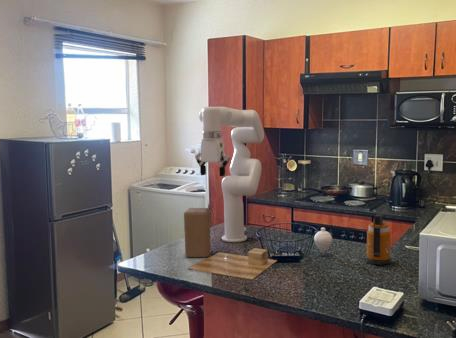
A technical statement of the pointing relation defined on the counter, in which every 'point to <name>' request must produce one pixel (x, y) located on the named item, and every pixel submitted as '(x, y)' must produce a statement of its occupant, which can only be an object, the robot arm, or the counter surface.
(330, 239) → the spinning top
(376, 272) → the counter surface
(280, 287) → the counter surface
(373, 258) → the amber tall bottle
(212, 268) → the wooden board
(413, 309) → the counter surface
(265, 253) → the oak cube
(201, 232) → the block
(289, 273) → the counter surface
